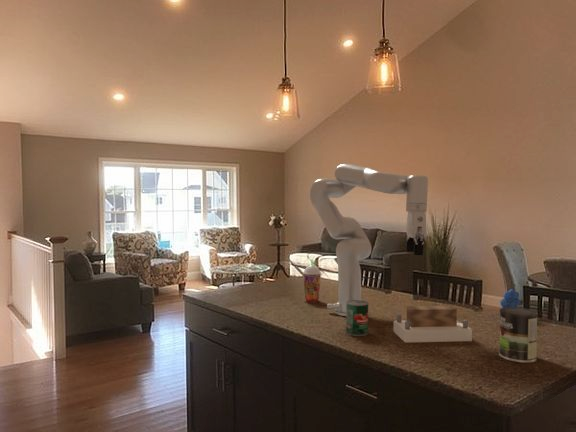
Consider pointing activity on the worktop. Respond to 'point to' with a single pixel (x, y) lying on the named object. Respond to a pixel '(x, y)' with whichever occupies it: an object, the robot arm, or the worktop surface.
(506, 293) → the grapes
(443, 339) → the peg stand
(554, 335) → the worktop surface
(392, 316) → the worktop surface
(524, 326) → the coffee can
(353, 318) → the canned tomato
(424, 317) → the brown wooden block
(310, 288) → the smoothie
